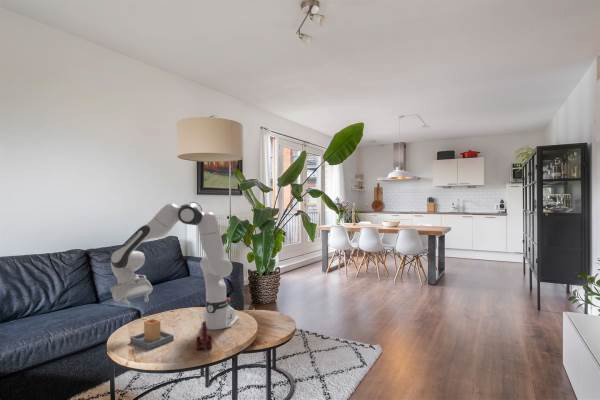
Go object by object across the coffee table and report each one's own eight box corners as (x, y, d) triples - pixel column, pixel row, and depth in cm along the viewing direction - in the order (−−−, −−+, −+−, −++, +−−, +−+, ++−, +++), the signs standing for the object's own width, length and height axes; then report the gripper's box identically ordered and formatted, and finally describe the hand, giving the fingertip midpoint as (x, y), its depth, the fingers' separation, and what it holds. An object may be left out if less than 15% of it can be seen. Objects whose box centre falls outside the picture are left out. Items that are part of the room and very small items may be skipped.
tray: (130, 342, 172) (130, 337, 172) (155, 333, 183) (155, 328, 183) (148, 349, 163) (148, 344, 163) (173, 340, 175) (173, 335, 175)
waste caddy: (144, 339, 173) (144, 321, 173) (153, 336, 177) (153, 318, 177) (151, 342, 170) (151, 323, 170) (160, 338, 174) (160, 320, 174)
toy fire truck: (196, 353, 160) (196, 330, 160) (196, 342, 172) (196, 321, 172) (212, 351, 162) (211, 328, 162) (211, 340, 174) (211, 320, 174)
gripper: (110, 282, 175) (121, 304, 170) (148, 274, 192) (158, 295, 187) (106, 289, 178) (116, 312, 172) (143, 281, 195) (153, 302, 189)
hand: (138, 303), depth 180 cm, fingers open, 8 cm apart
